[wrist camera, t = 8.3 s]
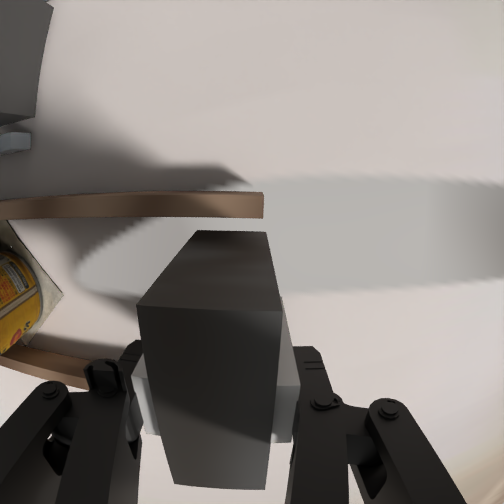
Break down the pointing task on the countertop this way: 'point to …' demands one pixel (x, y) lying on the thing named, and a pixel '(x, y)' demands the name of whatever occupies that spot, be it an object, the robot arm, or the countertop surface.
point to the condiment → (22, 291)
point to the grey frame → (20, 65)
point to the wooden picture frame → (192, 333)
